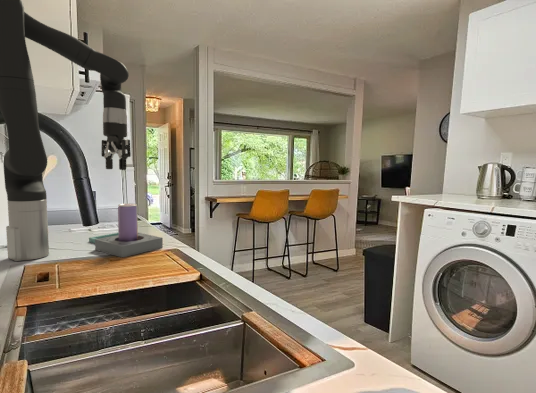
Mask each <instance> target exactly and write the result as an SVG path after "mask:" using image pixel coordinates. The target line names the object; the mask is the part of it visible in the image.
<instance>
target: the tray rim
mask: <svg viewBox="0 0 536 393" xmlns="http://www.w3.org/2000/svg"><path fill="white" fill-rule="evenodd" d="M116 235H118V232H115V233H107V234H103V235H97V236H92V237H88V242H89V243H92V244H95V239H100V238H105V237H111V236H116Z"/></svg>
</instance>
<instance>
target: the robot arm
mask: <svg viewBox="0 0 536 393" xmlns="http://www.w3.org/2000/svg"><path fill="white" fill-rule="evenodd" d="M26 39H28V40H30V41H32V42H35V43H36V44H39V45H41V46H43V47H45V48H46V49H49V50H51V51H52V52H54V53H56V54H58V55H60V56H61V57H63V58H65V59H67V60H68V61H70V62H72V63H74V64H75V65H77V66H79V67H80V68H83V69H84V70H86V71H91V72H92V71H94V72H97V73H98V74H100V75H99V80H100V85H101V90H102V95H103V102H102V104H103V109H102V110H103V111H102V133H103V134H102V135H103V136H104V137H106V139H102V140H101V153H100V154H101V157H103V159H105V169H106V170H113V167H114V163H113V161H114V160H113V158H114V155H115V154H117V156H118V158H119V159H118V170H120V171H126V170H127V159H128V158H130V157H131V154H132V153H131V140H130V139H127V137H128V115H127V99H126V95H125V93H123V92H122V84H124V83H125V82H126V81H127V80H128V79H129V75H130V74H129V71H128V69H127V67H126V66H125V64H124V63H123V62H122V61H119V60H118V59H116V58H114V57H112V56H109V55H107V54H105V53H102V52H100V51H97V50H96V49H94V48H93V47H91V46H90V45H88V44H87V43H85V42H83V41H82V40H80V39H78V38H77V37H75V36H73V35H70V34H68V33H66V32H64V31H61V30H59V29H56V28H53V27H52V26H49V25H47V24H45V23H42V22H41V21H39V20H37V19H36V18H34V17H32V16H31V15H29V14H28V13H27V12H25V8H24V3H23V0H0V114H1V116H2V117H3V120H4V123H5V125H6V129H7V139H8V150H7V151H5V153H4V156H3V163H2V164H3V176H4V188H5V191H6V198H7V212H8V214H7V216H8V225H6V228H5V230H6V246H7V259H10V260H12V261H15V262H20V261H31V260H36V259H40V258H44V257H47V256H49V254H50V246H49V245H50V244H49V226H48V225H49V224H48V223H49V222H48V221H49V220H48V204H47V202H48V201H47V190H46V188H45V186H44V177H43V173H44V172H45V171H46V169H47V166H48V156H47V152H46V149H45V146H44V143H43V139H42V135H41V131H40V125H39V112H38V111H39V109H38V103H37V102H38V101H37V94H36V86H35V80H34V76H33V70H32V65H31V61H30V56H29V52H28V47H27V43H26Z"/></svg>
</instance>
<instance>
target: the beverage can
mask: <svg viewBox="0 0 536 393" xmlns="http://www.w3.org/2000/svg"><path fill="white" fill-rule="evenodd" d="M138 223H139V222H138V205H137V203H120V204H118V208H117V224H118V225H117V230H118V232H117V233H118V237H119V242H129V241H137V240H138V233H139V231H138Z"/></svg>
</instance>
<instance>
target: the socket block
mask: <svg viewBox="0 0 536 393" xmlns="http://www.w3.org/2000/svg"><path fill="white" fill-rule="evenodd" d="M163 244H164V243H163V236H157V235H151V234H149V233H148V234H147V233H142V232H138V240H137V241H129V242H119V237H118V235H116V236H111V237H105V238H100V239H95V243H94V245H95V246H94V248H95V251H99V252H102V253H104V254H105V253H106V254H108V255H112V256H116V257H118V258H122V257H123V258H126V257H130V256H134V255H139V254H142V253H146V252H150V251H155V250H158V249H162V248H163Z"/></svg>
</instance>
